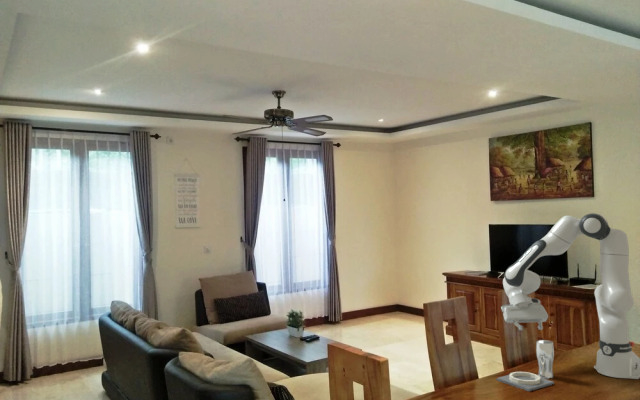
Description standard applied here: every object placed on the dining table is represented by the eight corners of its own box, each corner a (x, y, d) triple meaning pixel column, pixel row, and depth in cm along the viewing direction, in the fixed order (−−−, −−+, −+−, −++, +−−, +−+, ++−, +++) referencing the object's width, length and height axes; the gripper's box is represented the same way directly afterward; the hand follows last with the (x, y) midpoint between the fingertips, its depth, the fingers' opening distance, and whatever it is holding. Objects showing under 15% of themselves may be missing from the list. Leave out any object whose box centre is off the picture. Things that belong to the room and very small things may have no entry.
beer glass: (534, 373, 219) (533, 339, 220) (550, 373, 219) (549, 339, 219) (541, 379, 212) (540, 344, 213) (557, 379, 212) (556, 343, 212)
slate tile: (521, 373, 219) (521, 368, 220) (553, 384, 206) (553, 378, 206) (496, 380, 211) (496, 374, 211) (529, 391, 198) (528, 385, 198)
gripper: (501, 301, 235) (511, 326, 225) (542, 299, 237) (554, 324, 226) (497, 308, 239) (507, 333, 229) (538, 307, 241) (549, 332, 231)
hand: (531, 329), depth 228 cm, fingers open, 8 cm apart
